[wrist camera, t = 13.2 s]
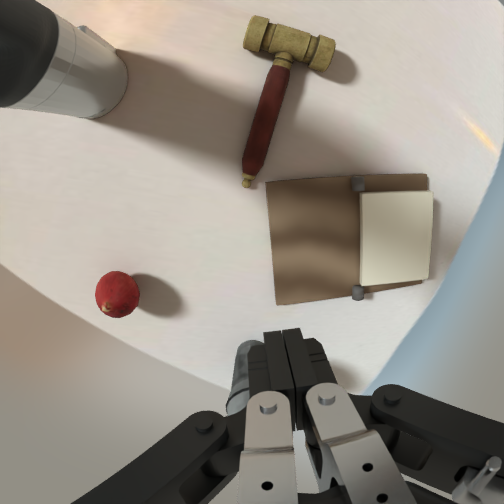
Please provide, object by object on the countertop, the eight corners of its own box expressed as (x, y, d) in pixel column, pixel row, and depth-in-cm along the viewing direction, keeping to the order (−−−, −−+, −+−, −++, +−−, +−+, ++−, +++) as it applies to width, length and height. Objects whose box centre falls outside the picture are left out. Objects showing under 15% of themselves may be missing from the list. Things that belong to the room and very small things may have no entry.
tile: (433, 191, 34) (428, 190, 36) (362, 194, 35) (359, 192, 36) (427, 278, 38) (424, 275, 39) (361, 286, 39) (359, 281, 40)
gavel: (287, 203, 35) (201, 180, 34) (283, 195, 39) (206, 174, 38) (339, 36, 28) (253, 9, 26) (329, 45, 32) (252, 22, 31)
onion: (153, 282, 40) (137, 310, 33) (131, 309, 41) (113, 340, 34) (120, 254, 39) (97, 277, 31) (100, 283, 40) (76, 310, 32)
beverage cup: (219, 361, 45) (213, 472, 26) (240, 324, 43) (243, 438, 24) (262, 376, 46) (275, 484, 27) (285, 342, 44) (312, 452, 25)
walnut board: (265, 182, 37) (267, 184, 34) (423, 173, 37) (434, 175, 35) (275, 302, 42) (278, 312, 39) (418, 280, 42) (427, 288, 40)
